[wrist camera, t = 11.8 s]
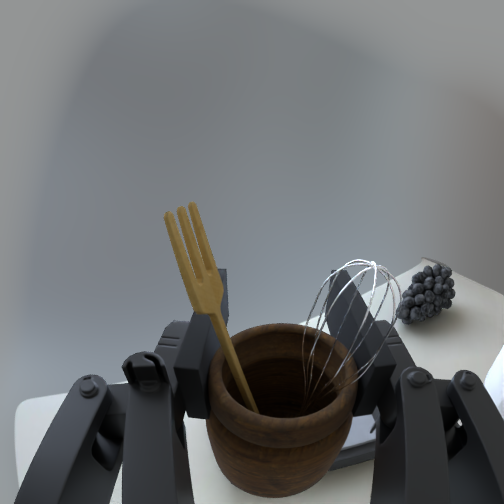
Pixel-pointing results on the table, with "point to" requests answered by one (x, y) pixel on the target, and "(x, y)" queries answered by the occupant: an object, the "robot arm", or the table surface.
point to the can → (496, 382)
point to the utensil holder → (272, 381)
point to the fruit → (427, 294)
